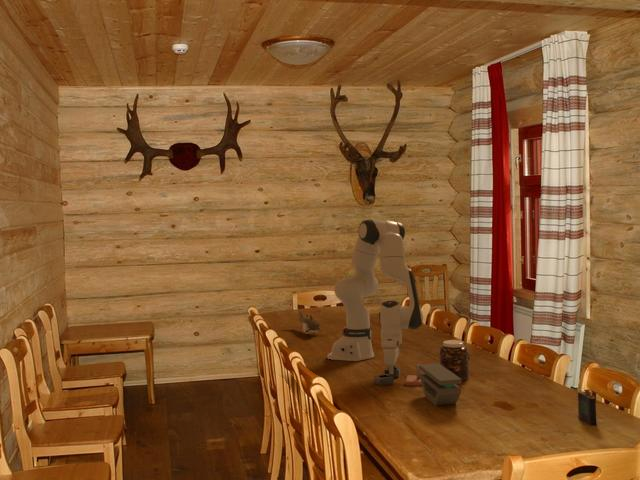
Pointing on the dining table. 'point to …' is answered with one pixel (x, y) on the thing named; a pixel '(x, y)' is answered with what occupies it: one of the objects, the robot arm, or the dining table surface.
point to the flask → (587, 407)
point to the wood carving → (308, 323)
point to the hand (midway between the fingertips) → (392, 371)
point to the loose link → (383, 379)
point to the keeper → (414, 378)
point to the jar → (455, 358)
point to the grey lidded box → (440, 384)
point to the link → (396, 371)
